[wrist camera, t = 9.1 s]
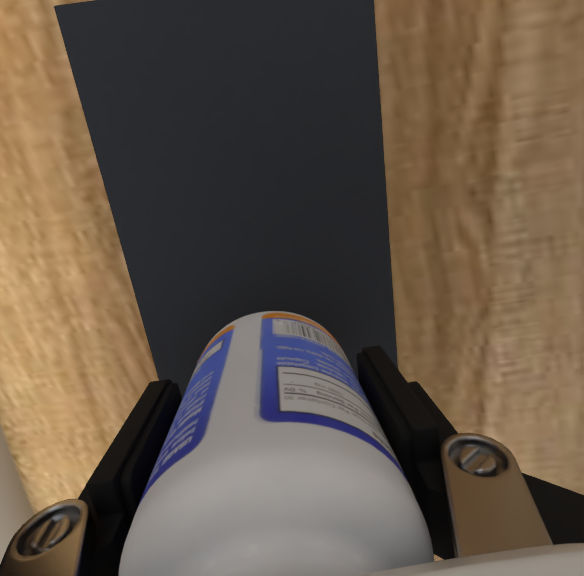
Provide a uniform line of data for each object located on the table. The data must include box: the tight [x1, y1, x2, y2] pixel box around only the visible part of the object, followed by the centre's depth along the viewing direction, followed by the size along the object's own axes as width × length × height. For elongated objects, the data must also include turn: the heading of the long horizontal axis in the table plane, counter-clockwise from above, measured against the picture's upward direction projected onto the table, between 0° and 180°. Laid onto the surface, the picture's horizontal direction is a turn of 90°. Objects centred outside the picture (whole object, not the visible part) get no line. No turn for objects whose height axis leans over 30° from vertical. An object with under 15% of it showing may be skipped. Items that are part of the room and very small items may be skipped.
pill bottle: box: [118, 311, 434, 576], centre depth 8 cm, size 5×5×10 cm
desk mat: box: [54, 0, 398, 399], centre depth 16 cm, size 20×12×1 cm, turn 8°
